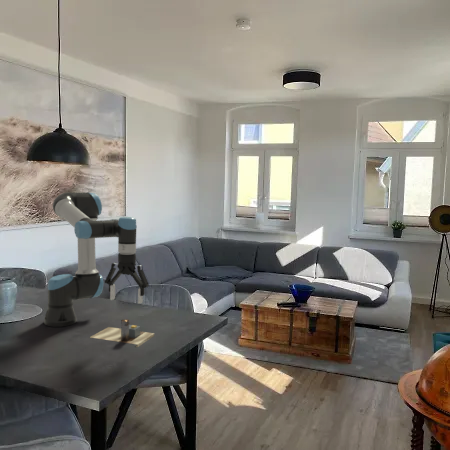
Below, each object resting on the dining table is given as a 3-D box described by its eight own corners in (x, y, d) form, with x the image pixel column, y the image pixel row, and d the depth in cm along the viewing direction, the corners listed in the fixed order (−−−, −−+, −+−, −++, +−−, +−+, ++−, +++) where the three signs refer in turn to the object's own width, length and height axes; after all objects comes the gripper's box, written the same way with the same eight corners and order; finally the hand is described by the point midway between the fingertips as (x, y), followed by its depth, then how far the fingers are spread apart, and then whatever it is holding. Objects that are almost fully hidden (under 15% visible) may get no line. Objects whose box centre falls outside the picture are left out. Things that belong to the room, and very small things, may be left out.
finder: (121, 336, 208) (121, 326, 208) (126, 332, 213) (126, 323, 213) (134, 338, 206) (135, 328, 206) (140, 334, 211) (140, 325, 211)
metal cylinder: (119, 341, 202) (119, 321, 201) (123, 338, 205) (123, 318, 204) (126, 342, 201) (126, 321, 200) (130, 339, 204) (130, 319, 203)
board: (89, 339, 206) (89, 337, 206) (108, 329, 221) (108, 327, 221) (137, 347, 199) (137, 344, 199) (154, 335, 214) (154, 333, 214)
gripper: (97, 252, 200) (96, 300, 202) (149, 256, 192) (148, 306, 194) (106, 249, 207) (106, 296, 209) (157, 254, 200) (156, 302, 202)
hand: (126, 301), depth 202 cm, fingers open, 13 cm apart
